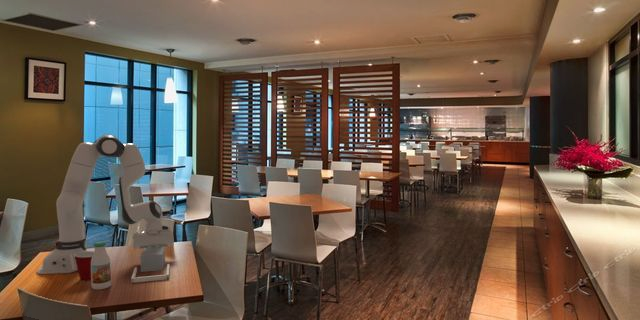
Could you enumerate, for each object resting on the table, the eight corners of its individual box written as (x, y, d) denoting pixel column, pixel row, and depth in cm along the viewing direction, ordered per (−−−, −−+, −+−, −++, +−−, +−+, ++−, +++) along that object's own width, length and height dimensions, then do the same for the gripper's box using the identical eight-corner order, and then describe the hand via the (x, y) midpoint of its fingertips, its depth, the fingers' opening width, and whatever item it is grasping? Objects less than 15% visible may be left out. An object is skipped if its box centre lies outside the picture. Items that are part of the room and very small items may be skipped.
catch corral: (131, 282, 201) (131, 278, 201) (134, 271, 217) (134, 267, 217) (168, 279, 206) (168, 274, 206) (169, 268, 222) (169, 264, 222)
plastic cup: (105, 277, 209) (104, 251, 208) (82, 283, 200) (81, 257, 199) (92, 273, 215) (91, 248, 214) (69, 279, 206) (68, 254, 205)
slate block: (140, 271, 217) (140, 255, 216) (144, 263, 230) (143, 248, 230) (162, 270, 219) (161, 254, 219) (164, 261, 233) (164, 246, 232)
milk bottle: (87, 288, 194) (85, 243, 193) (101, 283, 201) (100, 239, 200) (101, 291, 191) (99, 245, 190) (115, 285, 198) (113, 240, 197)
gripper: (132, 229, 235) (131, 252, 226) (173, 226, 241) (173, 249, 232) (133, 235, 239) (132, 258, 231) (173, 232, 246) (174, 255, 237)
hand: (153, 254), depth 232 cm, fingers closed
